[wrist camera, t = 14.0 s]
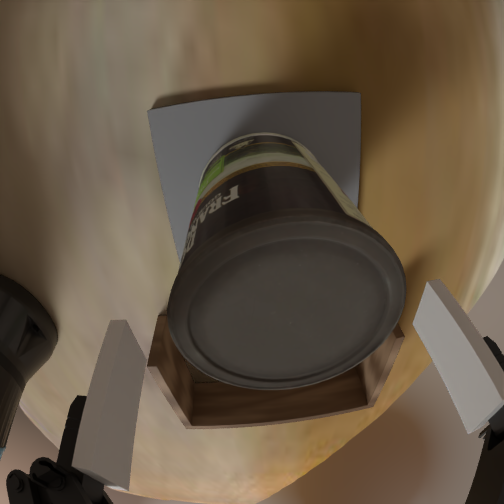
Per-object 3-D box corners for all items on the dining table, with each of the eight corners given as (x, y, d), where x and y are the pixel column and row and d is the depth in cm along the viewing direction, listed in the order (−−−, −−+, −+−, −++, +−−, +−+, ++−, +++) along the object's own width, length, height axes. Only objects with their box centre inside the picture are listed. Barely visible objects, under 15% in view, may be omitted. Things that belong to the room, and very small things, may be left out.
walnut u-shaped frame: (158, 315, 32) (147, 366, 26) (380, 291, 32) (404, 336, 26) (189, 386, 40) (186, 428, 34) (360, 367, 40) (373, 406, 34)
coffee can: (180, 225, 25) (144, 365, 13) (230, 110, 20) (225, 163, 8) (288, 264, 28) (321, 401, 16) (348, 167, 23) (448, 273, 11)
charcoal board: (150, 109, 20) (147, 110, 20) (356, 92, 20) (360, 93, 20) (186, 276, 29) (185, 283, 28) (348, 259, 29) (351, 265, 28)
